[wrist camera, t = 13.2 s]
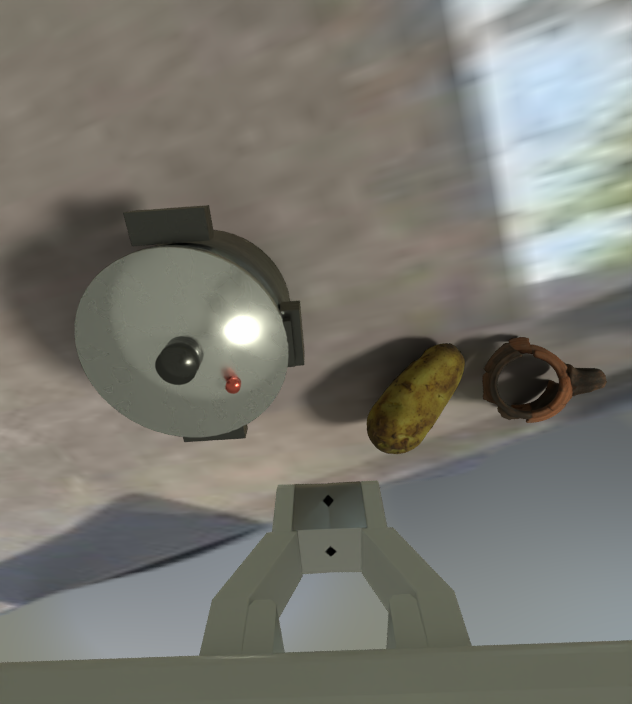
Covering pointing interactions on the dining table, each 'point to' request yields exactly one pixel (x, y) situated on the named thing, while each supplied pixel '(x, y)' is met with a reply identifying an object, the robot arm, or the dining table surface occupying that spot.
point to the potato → (415, 400)
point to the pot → (198, 232)
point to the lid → (183, 341)
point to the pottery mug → (555, 393)
